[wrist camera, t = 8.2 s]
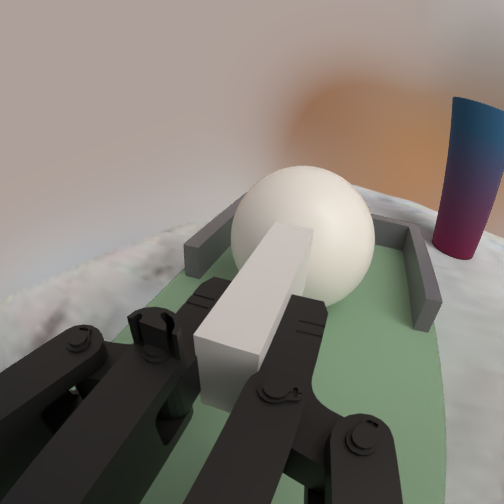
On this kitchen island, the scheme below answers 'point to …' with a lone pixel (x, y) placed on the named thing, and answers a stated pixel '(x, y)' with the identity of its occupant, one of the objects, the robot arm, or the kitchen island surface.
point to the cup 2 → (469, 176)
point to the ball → (310, 226)
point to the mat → (340, 382)
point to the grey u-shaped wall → (386, 234)
